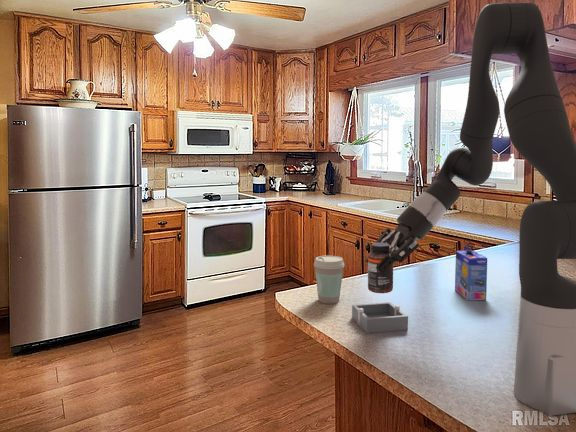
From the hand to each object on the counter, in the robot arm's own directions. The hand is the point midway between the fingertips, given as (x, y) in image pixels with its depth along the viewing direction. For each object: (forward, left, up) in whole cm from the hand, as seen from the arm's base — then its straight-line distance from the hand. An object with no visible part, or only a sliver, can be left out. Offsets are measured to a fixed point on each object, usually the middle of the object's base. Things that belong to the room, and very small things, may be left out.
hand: (373, 267), depth 105 cm
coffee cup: (+19, +5, -14) cm, 24 cm away
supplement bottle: (0, -2, -6) cm, 6 cm away
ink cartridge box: (+15, -36, -14) cm, 41 cm away
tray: (0, -2, -14) cm, 14 cm away
